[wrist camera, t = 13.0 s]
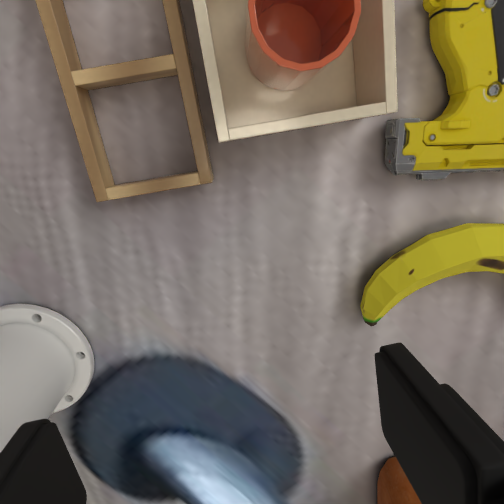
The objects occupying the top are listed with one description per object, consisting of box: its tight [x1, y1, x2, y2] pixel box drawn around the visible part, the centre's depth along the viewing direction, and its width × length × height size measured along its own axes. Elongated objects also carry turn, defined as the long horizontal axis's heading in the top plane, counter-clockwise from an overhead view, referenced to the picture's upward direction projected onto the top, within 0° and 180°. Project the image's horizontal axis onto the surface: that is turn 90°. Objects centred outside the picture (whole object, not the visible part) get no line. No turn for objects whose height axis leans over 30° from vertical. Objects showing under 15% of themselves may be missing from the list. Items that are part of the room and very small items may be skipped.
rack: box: [36, 0, 214, 202], centre depth 27 cm, size 10×19×2 cm, turn 9°
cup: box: [244, 0, 361, 91], centre depth 24 cm, size 6×6×8 cm
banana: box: [360, 223, 504, 326], centre depth 34 cm, size 5×17×15 cm
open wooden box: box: [192, 0, 398, 143], centre depth 25 cm, size 13×13×7 cm
